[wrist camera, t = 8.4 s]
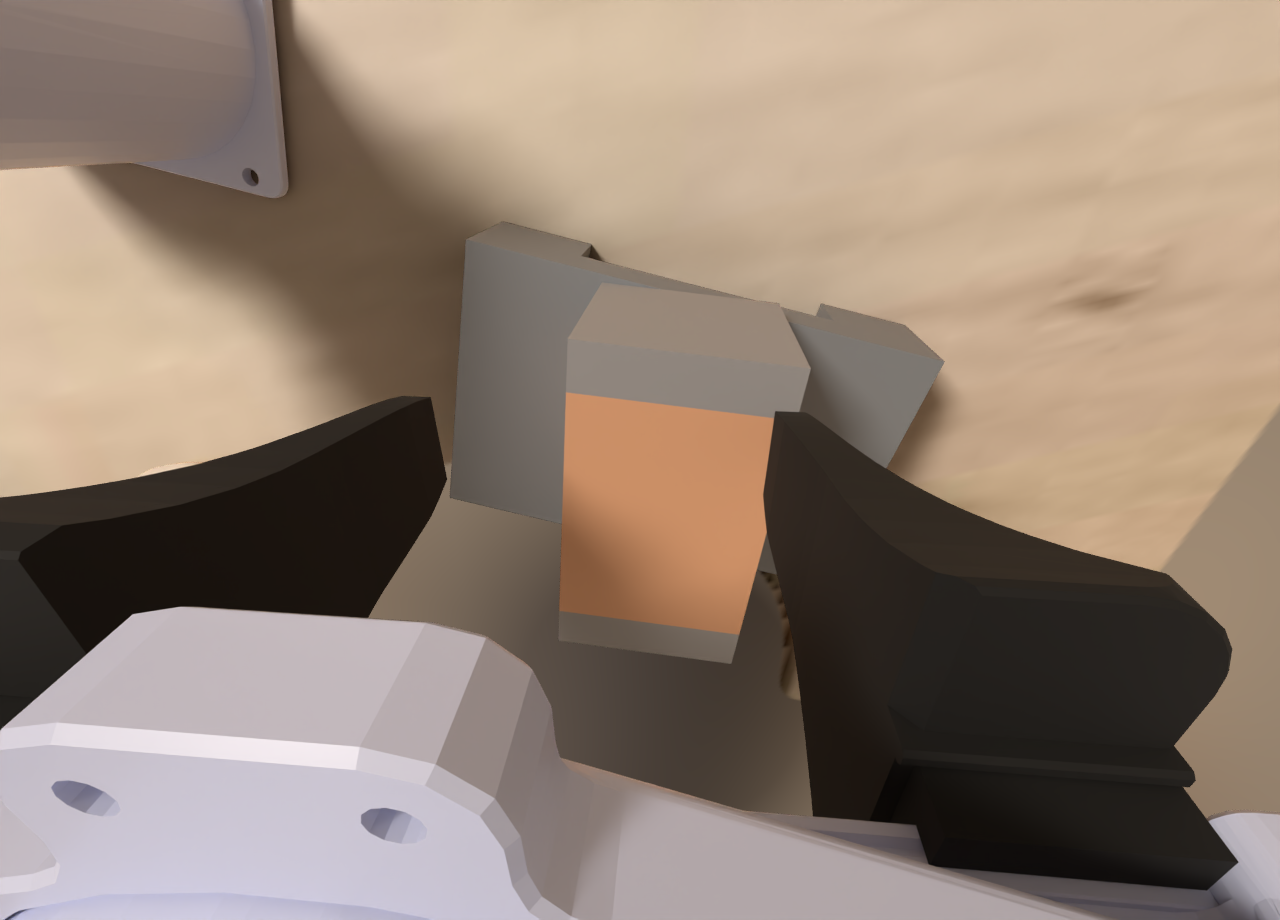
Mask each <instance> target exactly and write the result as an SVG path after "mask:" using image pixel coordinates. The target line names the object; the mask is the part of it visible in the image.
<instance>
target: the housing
mask: <svg viewBox="0 0 1280 920" xmlns="http://www.w3.org/2000/svg"><path fill="white" fill-rule="evenodd" d="M810 370H811V368H810V366H809V364H808V362H807V359H806V357H805V355H804V353H803V351H802V349H801V347H800V345H799V343H798V341H797V339H796V337H795V335H794V333H793V331H792V329H791V327H790V325H789V323H788V321H787V319H786V317H785V315H784V313H783V311H782V309H781V307H780V305H779V303H771V302H763V301H755V300H746V299H738V298H729V297H721V296H713V295H704V294H696V293H688V292H679V291H671V290H662V289H654V288H646V287H637V286H629V285H620V284H612V283H604V282H602V283H601V285H600V287H599V288H598V290H597V292H596V293H595V295H594V297H593V298H592V300H591V301H590V303H589V305H588V306H587V308H586V310H585V311H584V313H583V315H582V316H581V318H580V319H579V321H578V323H577V324H576V326H575V328H574V329H573V331H572V333H571V334H570V336H569V337H568V344H567V376H566V408H565V441H564V473H563V505H562V538H561V570H560V602H559V634H558V641H565V642H573V643H579V644H587V645H594V646H602V647H610V648H616V649H624V650H631V651H640V652H647V653H654V654H661V655H669V656H677V657H684V658H691V659H698V660H706V661H714V662H721V663H729V664H731V663H732V659H733V656H734V652H735V648H736V645H737V641H738V637H739V634H740V630H741V626H742V622H743V619H744V615H745V611H746V608H747V604H748V600H749V596H750V592H751V589H752V585H753V582H754V578H755V574H756V570H757V567H758V563H759V559H760V556H761V552H762V548H763V544H764V541H765V537H766V533H767V530H766V521H765V511H764V500H763V491H764V484H765V477H766V471H767V464H768V457H769V450H770V443H771V436H772V429H773V422H774V416H775V411H785V412H799V411H800V407H801V403H802V400H803V396H804V392H805V389H806V385H807V381H808V377H809V374H810Z"/></svg>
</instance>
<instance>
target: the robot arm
mask: <svg viewBox="0 0 1280 920" xmlns="http://www.w3.org/2000/svg"><path fill="white" fill-rule="evenodd" d="M116 163H134V164H138V165H142V166H146V167H150V168H154V169H158V170H162V171H166V172H170V173H174V174H178V175H181V176H185V177H189V178H193V179H197V180H201V181H205V182H209V183H213V184H217V185H221V186H225V187H228V188H232V189H236V190H240V191H244V192H248V193H252V194H256V195H260V196H264V197H268V198H278V197H282V196H284V195H285V194H286V193H287V191H288V185H289V184H288V173H287V162H286V150H285V139H284V128H283V117H282V106H281V95H280V84H279V73H278V61H277V50H276V39H275V28H274V17H273V6H272V0H0V170H8V169H26V168H44V167H62V166H80V165H98V164H116ZM251 170H254V171H255V172H256V174H257V175H258V178H259V183H258V184H256V183H255V182H254V181H253V179H252V177H251ZM446 480H447V477H446V472H445V467H444V462H443V457H442V452H441V447H440V442H439V437H438V432H437V427H436V422H435V417H434V412H433V407H432V402H431V397H410V396H401V397H396V398H392V399H388V400H385V401H382V402H379V403H376V404H373V405H370V406H368V407H365V408H362V409H359V410H357V411H354V412H352V413H349V414H346V415H344V416H341V417H339V418H336V419H334V420H331V421H328V422H326V423H323V424H321V425H318V426H315V427H313V428H310V429H307V430H304V431H302V432H299V433H296V434H293V435H290V436H288V437H285V438H282V439H279V440H276V441H273V442H271V443H268V444H265V445H262V446H259V447H256V448H253V449H249V450H246V451H243V452H240V453H236V454H233V455H229V456H226V457H222V458H218V459H215V460H211V461H207V462H204V463H200V464H196V465H192V466H187V467H183V468H178V469H173V470H169V471H164V472H159V473H155V474H150V475H146V476H141V477H136V478H132V479H127V480H121V481H116V482H110V483H104V484H98V485H92V486H86V487H79V488H72V489H66V490H59V491H52V492H45V493H37V494H29V495H21V496H11V497H2V498H0V920H1280V812H1270V811H1257V810H1232V811H1231V810H1230V811H1225V812H1221V813H1218V814H1215V815H1211V816H1209V817H1208V818H1205V817H1204V815H1203V814H1202V812H1201V811H1200V810H1199V809H1198V807H1197V806H1196V804H1195V803H1194V802H1193V801H1192V799H1191V798H1190V796H1189V795H1188V794H1187V792H1186V791H1185V790H1184V788H1183V787H1190V786H1191V785H1192V784H1193V783H1194V782H1195V781H1196V780H1195V774H1194V771H1193V770H1192V768H1191V767H1190V766H1189V765H1188V763H1187V762H1186V761H1185V760H1184V758H1183V757H1182V756H1181V754H1180V753H1179V752H1178V751H1177V749H1176V748H1175V747H1174V745H1175V743H1176V742H1177V741H1178V740H1179V738H1180V737H1181V736H1182V735H1183V734H1184V733H1185V731H1186V730H1187V729H1188V728H1189V726H1190V725H1191V724H1192V723H1193V722H1194V720H1195V719H1196V718H1197V717H1198V716H1199V714H1200V713H1201V712H1202V711H1203V710H1204V708H1205V707H1206V706H1207V705H1208V704H1209V702H1210V701H1211V700H1212V699H1213V698H1214V696H1215V695H1216V693H1217V692H1218V690H1219V688H1220V687H1221V685H1222V683H1223V681H1224V680H1225V678H1226V677H1227V674H1228V671H1229V666H1230V660H1231V653H1232V647H1231V645H1230V642H1229V639H1228V637H1227V633H1226V631H1225V629H1224V628H1223V627H1222V626H1221V625H1220V624H1219V623H1218V622H1217V621H1216V620H1215V619H1214V618H1213V617H1212V616H1211V615H1210V614H1209V613H1208V612H1206V610H1205V609H1203V608H1202V607H1201V606H1200V605H1199V604H1198V603H1197V602H1196V601H1195V600H1194V599H1193V598H1192V597H1191V596H1190V595H1189V594H1188V593H1187V592H1186V591H1185V590H1183V588H1182V587H1181V586H1180V585H1178V583H1176V582H1175V581H1174V580H1173V579H1172V578H1171V577H1170V576H1169V575H1167V574H1165V573H1161V572H1157V571H1154V570H1150V569H1146V568H1142V567H1138V566H1134V565H1130V564H1126V563H1123V562H1119V561H1115V560H1111V559H1107V558H1103V557H1099V556H1095V555H1091V554H1088V553H1084V552H1080V551H1077V550H1073V549H1070V548H1067V547H1064V546H1061V545H1058V544H1055V543H1051V542H1048V541H1045V540H1042V539H1039V538H1036V537H1033V536H1030V535H1027V534H1024V533H1021V532H1019V531H1016V530H1013V529H1010V528H1007V527H1005V526H1002V525H999V524H997V523H994V522H992V521H990V520H987V519H985V518H982V517H980V516H977V515H975V514H973V513H970V512H968V511H965V510H963V509H961V508H959V507H956V506H954V505H952V504H950V503H948V502H945V501H943V500H941V499H940V498H938V497H936V496H934V495H932V494H930V493H928V492H926V491H924V490H922V489H920V488H918V487H916V486H914V485H913V484H911V483H909V482H907V481H905V480H904V479H902V478H900V477H899V476H897V475H895V474H894V473H892V472H891V471H889V470H888V469H886V468H884V467H883V466H881V465H880V464H878V463H876V462H875V461H874V460H872V459H871V458H869V457H868V456H866V455H865V454H863V453H862V452H860V451H859V450H858V449H856V448H855V447H853V446H852V445H851V444H849V443H848V442H847V441H845V440H844V439H843V438H841V437H840V436H839V435H837V434H836V433H835V432H833V431H832V430H831V429H829V428H828V427H827V426H825V425H824V424H823V423H821V422H820V421H819V420H817V419H816V418H814V417H813V416H811V415H810V414H808V413H806V412H785V411H775V416H774V422H773V429H772V436H771V443H770V450H769V457H768V464H767V471H766V477H765V484H764V491H763V500H764V511H765V521H766V530H767V536H768V540H769V544H770V548H771V552H772V556H773V560H774V565H775V568H776V572H777V576H778V580H779V584H780V588H781V592H782V596H783V600H784V603H785V607H786V611H787V615H788V619H789V624H790V628H791V633H792V638H793V644H794V652H795V659H796V666H797V674H798V681H799V689H800V697H801V705H802V713H803V721H804V731H805V739H806V749H807V759H808V768H809V778H810V788H811V798H812V810H813V816H801V815H789V814H777V813H766V812H753V811H743V810H739V809H736V808H732V807H729V806H725V805H722V804H718V803H715V802H712V801H708V800H705V799H701V798H698V797H694V796H691V795H687V794H684V793H681V792H677V791H674V790H670V789H667V788H663V787H660V786H656V785H653V784H650V783H646V782H643V781H639V780H635V779H632V778H629V777H625V776H622V775H619V774H615V773H612V772H608V771H605V770H601V769H598V768H594V767H591V766H587V765H584V764H580V763H577V762H573V761H570V760H567V759H562V758H560V755H559V752H558V749H557V746H556V741H555V732H554V724H553V715H552V707H551V705H550V703H549V701H548V699H547V697H546V695H545V693H544V691H543V689H542V687H541V685H540V684H539V681H538V679H537V678H536V676H535V674H534V672H533V670H532V669H531V668H530V667H529V666H528V665H527V664H526V663H524V662H523V661H522V660H520V659H519V658H517V657H516V656H514V655H513V654H512V653H510V652H509V651H507V650H506V649H504V648H503V647H501V646H500V645H498V644H497V643H496V642H494V641H493V640H491V639H490V638H488V637H487V636H485V635H481V634H477V633H473V632H469V631H465V630H461V629H457V628H453V627H449V626H445V625H441V624H437V623H433V622H419V621H403V620H389V619H373V618H368V617H369V615H370V613H371V611H372V609H373V608H374V606H375V604H376V602H377V601H378V599H379V597H380V596H381V594H382V592H383V591H384V589H385V588H386V586H387V585H388V583H389V582H390V580H391V578H392V577H393V575H394V574H395V572H396V571H397V569H398V568H399V566H400V565H401V563H402V561H403V560H404V558H405V557H406V555H407V554H408V552H409V551H410V549H411V548H412V546H413V544H414V543H415V541H416V540H417V538H418V536H419V535H420V533H421V532H422V530H423V529H424V527H425V525H426V524H427V522H428V521H429V519H430V517H431V516H432V513H433V511H434V509H435V507H436V504H437V502H438V500H439V498H440V495H441V493H442V490H443V488H444V485H445V483H446Z"/></svg>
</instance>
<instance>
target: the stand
mask: <svg viewBox="0 0 1280 920" xmlns="http://www.w3.org/2000/svg"><path fill="white" fill-rule="evenodd" d="M590 250H591V244H588V243H584V242H580V241H576V240H572V239H568V238H565V237H561V236H557V235H553V234H549V233H545V232H541V231H537V230H534V229H530V228H526V227H522V226H518V225H514V224H510V223H506V222H501V223H499V224H497V225H495V226H493V227H491V228H489V229H486V230H484V231H482V232H480V233H478V234H476V235H474V236H472V237H469V238H467V239H466V246H465V262H464V278H463V294H462V310H461V326H460V342H459V358H458V373H457V389H456V405H455V421H454V437H453V453H452V470H451V471H452V472H451V486H450V498H453V499H457V500H461V501H466V502H470V503H475V504H478V505H483V506H487V507H491V508H495V509H500V510H504V511H508V512H512V513H517V514H521V515H525V516H530V517H534V518H538V519H543V520H546V521H551V522H555V523H559V524H562V505H563V473H564V441H565V408H566V376H567V344H568V337H569V336H570V334H571V333H572V331H573V329H574V328H575V326H576V324H577V323H578V321H579V319H580V318H581V316H582V315H583V313H584V311H585V310H586V308H587V306H588V305H589V303H590V301H591V300H592V298H593V297H594V295H595V293H596V292H597V290H598V288H599V287H600V285H601V283H602V282H604V283H612V284H620V285H629V286H637V287H646V288H654V289H662V290H671V291H679V292H688V293H696V294H704V295H713V296H721V297H729V298H738V299H746V300H751V299H747V298H743V297H739V296H735V295H731V294H727V293H723V292H720V291H716V290H712V289H708V288H704V287H700V286H696V285H692V284H688V283H684V282H681V281H677V280H673V279H669V278H665V277H661V276H657V275H653V274H649V273H646V272H642V271H638V270H634V269H630V268H626V267H622V266H618V265H614V264H611V263H607V262H603V261H599V260H595V259H591V258H589V256H590ZM781 309H782V311H783V313H784V315H785V317H786V319H787V321H788V323H789V325H790V327H791V329H792V331H793V333H794V335H795V337H796V339H797V341H798V343H799V345H800V347H801V349H802V351H803V353H804V355H805V357H806V359H807V362H808V364H809V366H810V368H811V370H810V374H809V377H808V381H807V385H806V389H805V392H804V396H803V400H802V403H801V407H800V411H799V412H806V413H808V414H810V415H811V416H813V417H814V418H816V419H817V420H819V421H820V422H821V423H823V424H824V425H825V426H827V427H828V428H829V429H831V430H832V431H833V432H835V433H836V434H837V435H839V436H840V437H841V438H843V439H844V440H845V441H847V442H848V443H849V444H851V445H852V446H853V447H855V448H856V449H858V450H859V451H860V452H862V453H863V454H865V455H866V456H868V457H869V458H871V459H872V460H874V461H875V462H876V463H878V464H880V465H881V466H883V467H884V468H887V466H888V465H889V463H890V461H891V459H892V457H893V455H894V454H895V452H896V450H897V448H898V446H899V444H900V443H901V441H902V439H903V437H904V435H905V433H906V432H907V430H908V428H909V426H910V424H911V422H912V421H913V419H914V417H915V415H916V413H917V411H918V410H919V408H920V406H921V404H922V402H923V400H924V399H925V397H926V395H927V393H928V391H929V389H930V388H931V386H932V384H933V382H934V380H935V378H936V377H937V375H938V373H939V371H940V369H941V367H942V366H943V364H944V362H945V361H943V360H942V359H941V358H940V357H939V356H938V355H937V354H936V353H935V352H934V351H933V350H931V349H930V348H929V347H928V346H927V345H926V344H925V343H924V342H923V341H922V340H921V339H920V338H918V337H917V336H916V335H915V334H914V333H913V332H912V331H911V330H910V329H909V328H908V327H906V326H905V325H902V324H898V323H894V322H890V321H886V320H883V319H879V318H875V317H871V316H867V315H863V314H859V313H855V312H851V311H848V310H844V309H840V308H836V307H832V306H828V305H824V304H821V306H820V308H819V311H818V313H817V316H813V315H809V314H805V313H801V312H797V311H794V310H790V309H786V308H782V307H781ZM757 570H759V571H763V572H768V573H772V574H776V575H777V572H776V568H775V565H774V560H773V556H772V552H771V548H770V544H769V540H768V536H767V533H766V537H765V541H764V544H763V548H762V552H761V556H760V559H759V563H758V567H757Z"/></svg>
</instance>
